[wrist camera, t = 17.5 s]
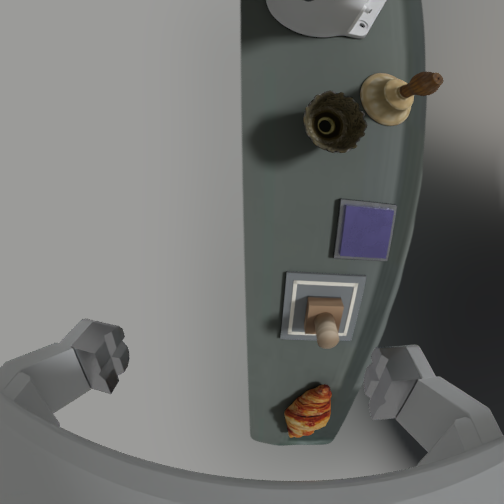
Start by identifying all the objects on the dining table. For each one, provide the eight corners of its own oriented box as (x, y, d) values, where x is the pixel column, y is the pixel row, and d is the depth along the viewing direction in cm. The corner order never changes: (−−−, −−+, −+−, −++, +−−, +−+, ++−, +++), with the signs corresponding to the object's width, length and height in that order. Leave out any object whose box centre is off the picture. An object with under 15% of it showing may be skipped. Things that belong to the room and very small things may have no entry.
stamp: (307, 295, 45) (312, 324, 38) (340, 296, 45) (350, 325, 37) (303, 323, 47) (307, 353, 40) (335, 324, 47) (342, 354, 39)
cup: (328, 162, 38) (340, 166, 30) (288, 128, 37) (290, 124, 29) (360, 125, 35) (378, 121, 28) (320, 91, 34) (330, 78, 27)
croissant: (302, 421, 63) (316, 443, 57) (268, 431, 59) (282, 456, 53) (334, 369, 55) (355, 395, 49) (295, 379, 51) (316, 409, 44)
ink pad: (339, 198, 40) (342, 200, 38) (394, 204, 39) (398, 206, 37) (333, 256, 43) (334, 259, 41) (385, 259, 42) (388, 263, 41)
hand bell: (360, 122, 35) (407, 111, 20) (358, 69, 32) (400, 34, 17) (410, 129, 34) (472, 127, 20) (408, 78, 32) (466, 55, 17)
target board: (286, 271, 44) (286, 273, 44) (365, 275, 43) (366, 277, 43) (280, 336, 49) (280, 339, 48) (350, 338, 48) (351, 341, 48)
